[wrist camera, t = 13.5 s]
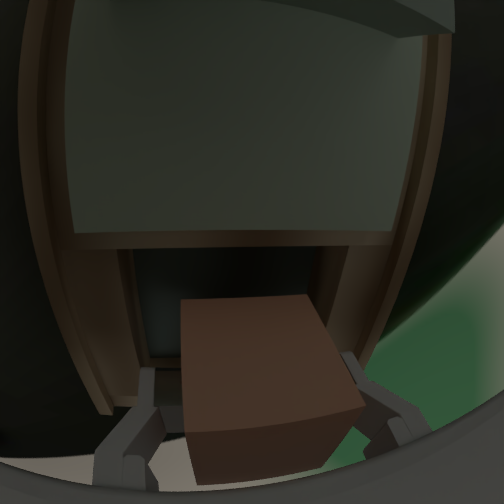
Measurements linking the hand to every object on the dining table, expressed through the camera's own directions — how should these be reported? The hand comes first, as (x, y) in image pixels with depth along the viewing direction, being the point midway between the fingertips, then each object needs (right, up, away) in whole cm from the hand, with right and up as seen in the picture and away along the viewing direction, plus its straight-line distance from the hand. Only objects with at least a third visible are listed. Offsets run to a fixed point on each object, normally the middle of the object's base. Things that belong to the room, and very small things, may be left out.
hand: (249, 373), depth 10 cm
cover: (0, +10, -3) cm, 10 cm away
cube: (0, +1, +1) cm, 2 cm away
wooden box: (-1, +7, +2) cm, 7 cm away
